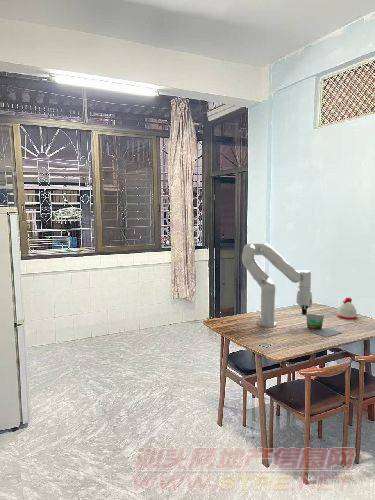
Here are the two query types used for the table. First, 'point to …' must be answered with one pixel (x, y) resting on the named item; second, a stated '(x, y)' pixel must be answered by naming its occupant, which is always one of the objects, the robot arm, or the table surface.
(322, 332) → the mat
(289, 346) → the table surface
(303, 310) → the robot arm
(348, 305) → the white bobble hat
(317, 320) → the food container
